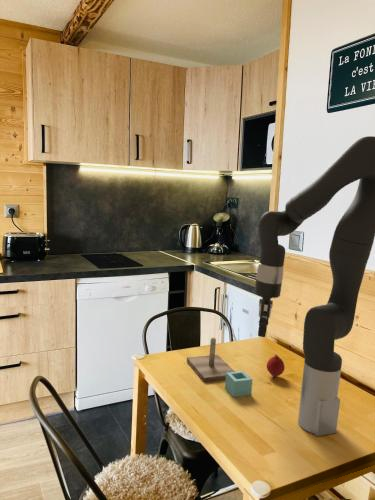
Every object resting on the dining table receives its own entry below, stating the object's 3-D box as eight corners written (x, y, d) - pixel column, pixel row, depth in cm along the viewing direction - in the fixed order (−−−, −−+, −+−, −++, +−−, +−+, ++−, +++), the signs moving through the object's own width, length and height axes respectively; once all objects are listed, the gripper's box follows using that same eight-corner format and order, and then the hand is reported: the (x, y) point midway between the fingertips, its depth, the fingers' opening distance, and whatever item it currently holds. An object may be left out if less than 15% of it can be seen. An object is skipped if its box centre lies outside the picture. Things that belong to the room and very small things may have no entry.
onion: (282, 373, 139) (284, 351, 138) (284, 381, 133) (286, 358, 132) (265, 372, 139) (267, 350, 138) (266, 379, 134) (268, 356, 133)
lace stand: (237, 378, 134) (240, 345, 132) (204, 382, 129) (206, 348, 128) (217, 358, 148) (219, 328, 147) (186, 361, 144) (188, 330, 142)
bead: (251, 394, 123) (252, 379, 122) (233, 397, 121) (234, 381, 120) (241, 385, 129) (243, 370, 128) (224, 387, 127) (226, 372, 126)
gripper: (282, 287, 111) (274, 342, 114) (281, 275, 125) (274, 325, 128) (255, 283, 112) (247, 337, 115) (257, 272, 126) (250, 321, 129)
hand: (261, 331), depth 122 cm, fingers open, 8 cm apart
